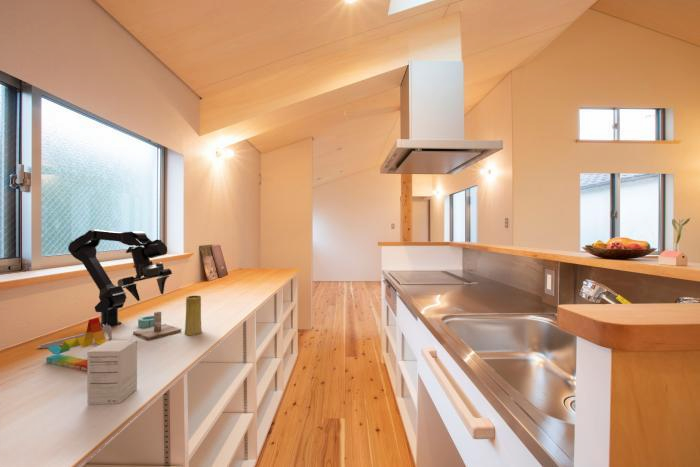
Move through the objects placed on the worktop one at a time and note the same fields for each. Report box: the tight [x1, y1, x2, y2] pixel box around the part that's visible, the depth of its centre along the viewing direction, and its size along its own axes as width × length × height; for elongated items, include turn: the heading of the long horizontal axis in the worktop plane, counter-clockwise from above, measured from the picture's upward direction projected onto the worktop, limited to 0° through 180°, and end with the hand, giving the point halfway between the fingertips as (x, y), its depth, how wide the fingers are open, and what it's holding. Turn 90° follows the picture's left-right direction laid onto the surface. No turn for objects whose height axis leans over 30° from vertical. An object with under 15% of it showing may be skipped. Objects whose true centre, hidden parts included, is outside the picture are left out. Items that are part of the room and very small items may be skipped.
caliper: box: [35, 324, 113, 350], centre depth 112 cm, size 20×1×6 cm, turn 120°
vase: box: [184, 294, 203, 336], centre depth 125 cm, size 6×6×14 cm
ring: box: [137, 315, 154, 329], centre depth 134 cm, size 7×7×3 cm
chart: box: [45, 317, 109, 372], centre depth 93 cm, size 30×3×15 cm, turn 72°
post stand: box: [132, 311, 182, 341], centre depth 124 cm, size 12×12×8 cm
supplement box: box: [86, 339, 138, 406], centre depth 77 cm, size 7×7×13 cm
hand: (150, 297), depth 132 cm, fingers open, 9 cm apart
